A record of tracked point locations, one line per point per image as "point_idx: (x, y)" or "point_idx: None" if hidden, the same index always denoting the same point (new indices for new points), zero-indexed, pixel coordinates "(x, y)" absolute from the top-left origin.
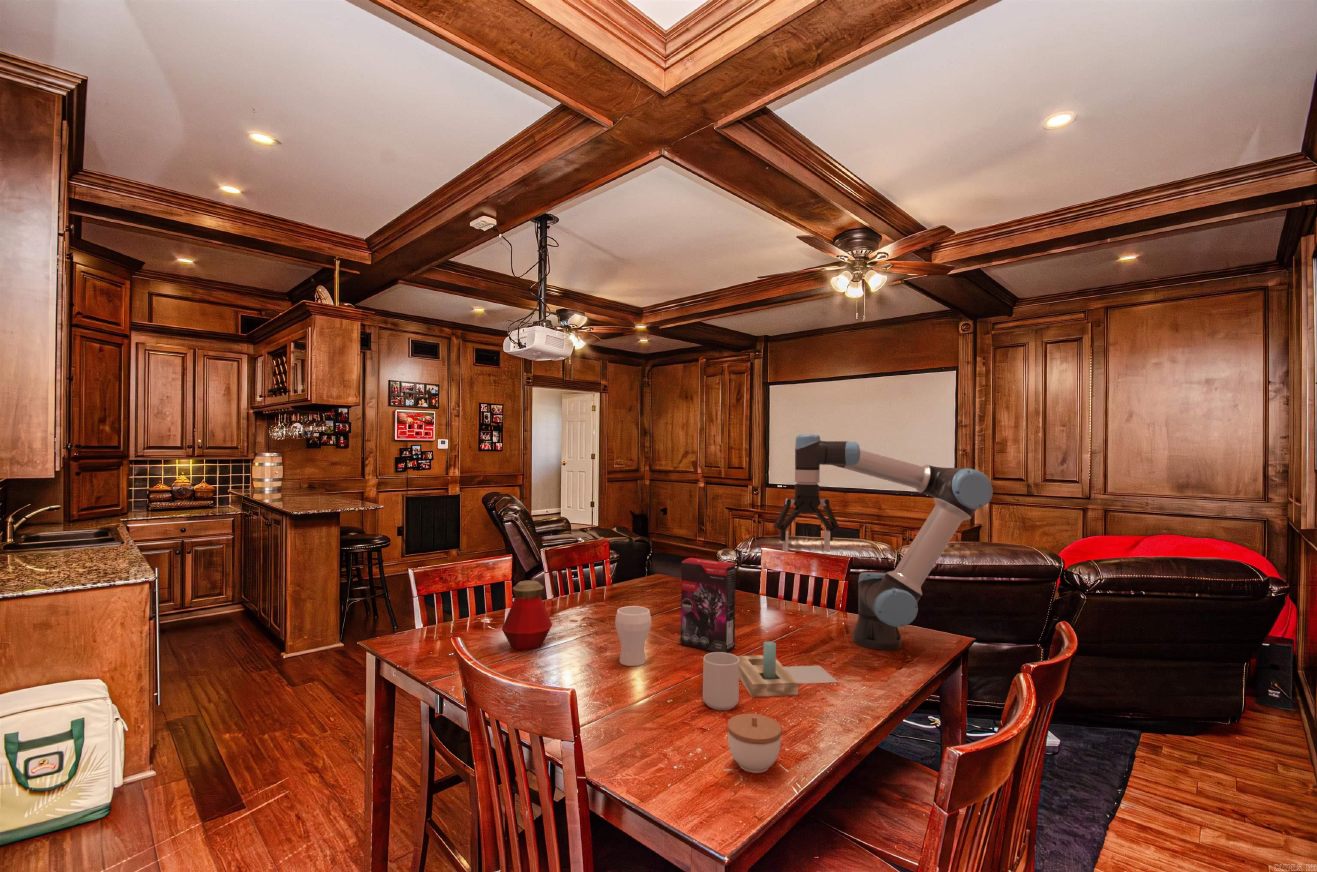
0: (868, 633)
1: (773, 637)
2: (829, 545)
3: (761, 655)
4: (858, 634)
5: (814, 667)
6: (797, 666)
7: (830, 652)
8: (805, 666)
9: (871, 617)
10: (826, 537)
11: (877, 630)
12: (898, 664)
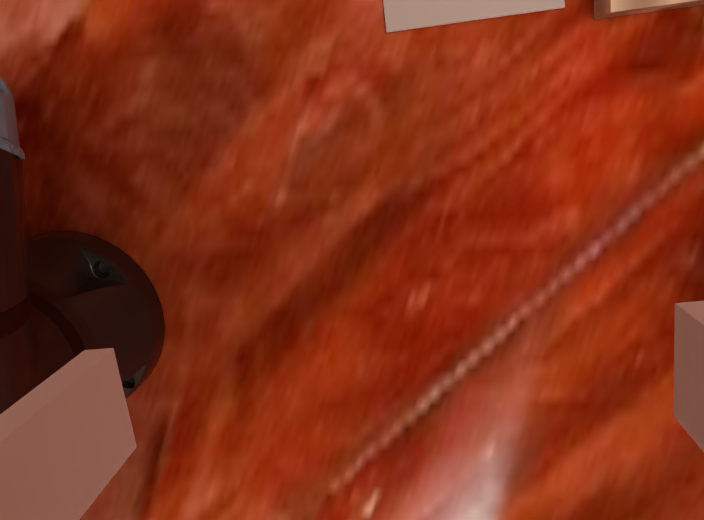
0: (96, 285)
1: (481, 379)
2: (42, 386)
3: (667, 2)
4: (136, 311)
5: (415, 7)
6: (486, 15)
7: (292, 205)
8: (451, 16)
9: (42, 306)
10: (6, 498)
11: (52, 269)
12: (60, 77)
